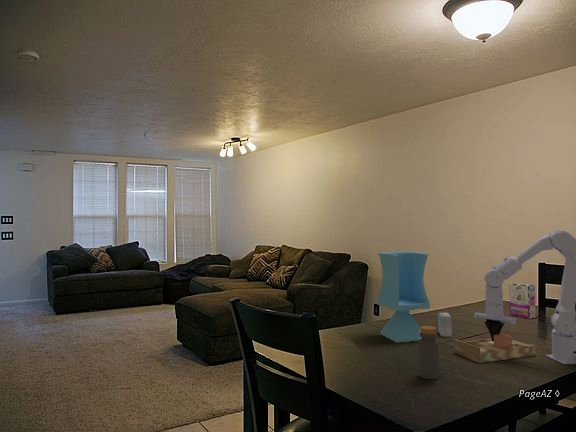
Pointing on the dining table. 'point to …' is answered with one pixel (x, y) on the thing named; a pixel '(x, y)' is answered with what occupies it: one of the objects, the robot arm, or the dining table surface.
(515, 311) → the candy bar box
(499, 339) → the brick block
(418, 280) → the blue pedestal chair
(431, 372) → the bottle
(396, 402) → the dining table surface
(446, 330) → the medicine box
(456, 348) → the trap tray
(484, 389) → the dining table surface
